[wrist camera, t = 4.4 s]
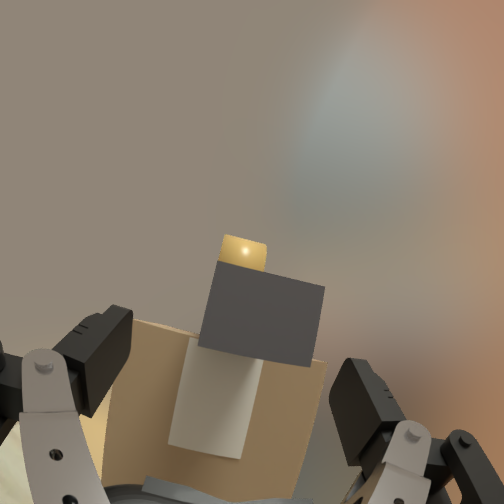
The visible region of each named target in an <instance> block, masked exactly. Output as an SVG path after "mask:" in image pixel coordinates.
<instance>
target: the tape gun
mask: <svg viewBox="0 0 504 504" xmlns="http://www.w3.org/2000/svg"><path fill="white" fill-rule="evenodd" d="M266 251H267V248H266V245H265V244H262V243H258V242H253V241H250V240H246V239H242V238H238V237H234V236H231V235H227V234H225V236H224V240H223V243H222V248H221V251H220V255H219V259H218V261H217V265H216V269H215V273H214V277H213V282H212V285H211V289H210V294H209V298H208V302H207V306H206V310H205V315H204V319H203V323H202V328H201V332H200V336H199V341H198V345H197V346H200V347H204V348H208V349H213V350H217V351H221V352H226V353H231V354H235V355H240V356H245V357H250V358H255V359H260V360H266V361H271V362H277V363H283V364H289V365H296V366H302V367H309V368H310V367H311V362H312V357H313V352H314V347H315V341H316V337H317V331H318V326H319V320H320V314H321V308H322V303H323V296H324V290H325V287H324V286H320V285H315V284H311V283H307V282H303V281H299V280H294V279H291V278H286V277H282V276H278V275H274V274H270V273H266V272H264V267H265V261H266Z"/></svg>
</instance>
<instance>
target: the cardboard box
mask: <svg viewBox="0 0 504 504" xmlns="http://www.w3.org/2000/svg"><path fill="white" fill-rule="evenodd" d="M199 336H200V334H195V333H192V332H188V331H184V330H180V329H177V328H173V327H169V326H166V325H162V324H157V323H151V322H147V321H141V320H137V319H133V324H132V340H131V350H130V354H129V357H128V360H127V362H126V363H125V365H124V366H123V368H122V370H121V371H120V373H119V374H118V376H117V377H116V379H115V381H114V382H113V387H112V393H111V399H110V405H109V412H108V419H107V427H106V435H105V444H104V454H103V465H102V479H101V484H102V486H103V487H107V486H112V485H119V484H140V485H143V484H144V481H145V478H146V475H147V476H150V477H154V478H157V479H161V480H165V481H168V482H172V483H176V484H181V485H185V486H189V487H191V488H193V489H196V490H198V491H201V492H203V493H206V494H208V495H211V496H214V497H216V498H219V499H222V500H225V501H228V502H245V501H255V500H263V499H270V498H287V499H291V498H292V495H293V491H294V489H295V486H296V483H297V480H298V476H299V473H300V470H301V467H302V464H303V460H304V457H305V453H306V450H307V446H308V443H309V439H310V436H311V432H312V428H313V424H314V421H315V417H316V413H317V409H318V404H319V400H320V396H321V392H322V387H323V383H324V378H325V373H326V369H327V364H328V363H327V362H323V361H318V360H314V359H312V362H311V367H310V368H309V367H302V366H296V365H289V364H283V363H277V362H271V361H266V360H260V359H255V358H250V357H245V356H240V355H235V354H231V353H226V352H221V351H217V350H213V349H208V348H204V347H200V346H197V345H198V341H199Z"/></svg>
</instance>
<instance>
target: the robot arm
mask: <svg viewBox="0 0 504 504" xmlns="http://www.w3.org/2000/svg"><path fill="white" fill-rule="evenodd" d="M132 324H133V311H132V310H130V309H126V308H123V307H120V306H117V305H111V306H110V308H108V309H107V310H106V311H105V312H104V313H103V314H99V313H96V314H93V315H90V316H88V317H86V318H85V319H83V321H81V322H80V323H79V325H77V326H76V327H75V328H74V329H73V330H72V331H70V332H69V333H68V334H67V335H66V336H65V337H64V338H63V339H62V340H61V341H60V342H59V343H58V344H57V345H56V346H55V347H54V348H53V349H52V350H50V349H36V350H32V351H30V352H29V353H27V354H26V355H25V356H24V358H23V357H18V356H14V355H10V354H7V353H4V351H3V347H2V343H1V341H0V446H1V444H2V443H3V441H4V440H5V438H6V437H7V435H8V434H9V432H10V431H11V429H12V428H13V426H14V425H15V423H16V422H17V421H19V423H20V433H21V441H22V449H23V455H24V461H25V467H26V472H27V477H28V482H29V486H30V490H31V494H32V498H33V502H34V504H313V499H287V498H270V499H263V500H255V501H245V502H228V501H225V500H222V499H219V498H216V497H214V496H211V495H208V494H206V493H203V492H201V491H198V490H196V489H193V488H191V487H189V486H185V485H181V484H176V483H172V482H168V481H165V480H161V479H157V478H154V477H150V476H147V475H146V478H145V481H144V484H143V485H140V484H119V485H112V486H107V487H103V486H102V484H101V481H100V479H99V476H98V474H97V471H96V469H95V466H94V463H93V460H92V458H91V455H90V452H89V449H88V446H87V443H86V440H85V437H84V433H83V430H82V427H81V424H80V420H79V416H80V414H82V415H85V416H87V417H89V418H92V416H93V415H94V413H95V412H96V410H97V408H98V407H99V405H100V403H101V402H102V400H103V398H104V397H105V395H106V394H107V392H108V390H109V389H110V387H111V385H112V384H113V382H114V381H115V379H116V377H117V376H118V374H119V373H120V371H121V370H122V368H123V366H124V365H125V363H126V362H127V360H128V357H129V354H130V350H131V340H132ZM329 404H330V407H331V411H332V414H333V417H334V420H335V423H336V427H337V430H338V434H339V437H340V440H341V443H342V446H343V450H344V453H345V457H346V460H347V463H348V466H361V467H362V470H361V471H360V473H359V474H358V475H357V477H356V479H355V480H354V482H353V484H352V485H351V487H350V489H349V491H348V492H347V494H346V495H345V497H344V499H343V500H342V502H341V503H340V504H452V503H451V501H450V498H449V496H448V494H447V491H446V489H445V487H444V486H445V485H446V484H447V483H448V482H449V481H450V480H452V479H453V478H455V480H456V482H457V484H458V486H459V489H460V491H461V493H462V500H461V503H460V504H504V485H503V483H502V482H501V480H500V478H499V476H498V475H497V473H496V471H495V470H494V468H493V466H492V465H491V463H490V461H489V459H488V458H487V456H486V455H485V453H484V451H483V450H482V448H481V446H480V445H479V443H478V442H477V440H476V439H475V438H474V437H473V436H472V435H471V434H470V433H468V432H466V431H464V430H454V431H452V432H451V434H450V435H449V436H448V437H447V438H446V440H442V439H436V438H431V435H430V433H429V431H428V430H427V429H426V428H425V427H424V426H423V425H421V424H419V423H417V422H415V421H409V420H406V418H405V416H404V414H403V412H402V411H401V409H400V407H399V406H398V404H397V402H396V400H395V399H393V395H392V393H391V392H390V391H389V388H388V387H387V385H386V383H385V381H383V380H382V379H381V378H380V377H379V376H378V375H377V374H376V373H374V372H373V370H372V369H371V367H370V365H369V363H368V362H367V360H363V359H354V358H347V359H346V360H345V361H344V363H343V365H342V367H341V369H340V371H339V373H338V375H337V377H336V379H335V381H334V384H333V386H332V388H331V390H330V394H329Z"/></svg>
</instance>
